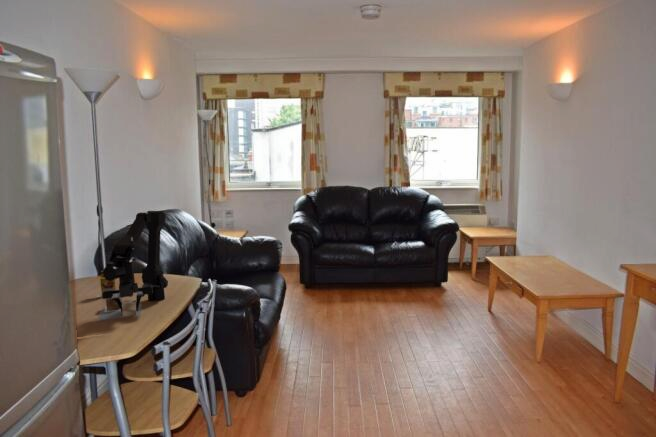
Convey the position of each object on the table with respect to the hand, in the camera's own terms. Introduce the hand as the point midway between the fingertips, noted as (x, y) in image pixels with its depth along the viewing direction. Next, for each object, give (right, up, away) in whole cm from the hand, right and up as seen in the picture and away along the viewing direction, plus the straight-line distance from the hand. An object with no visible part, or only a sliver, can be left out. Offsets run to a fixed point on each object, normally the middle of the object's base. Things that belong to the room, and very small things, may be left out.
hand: (130, 312), depth 218 cm
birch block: (0, -1, 0) cm, 1 cm away
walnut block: (-9, 0, +8) cm, 12 cm away
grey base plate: (-5, -1, +4) cm, 7 cm away
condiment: (-21, +2, +30) cm, 37 cm away
